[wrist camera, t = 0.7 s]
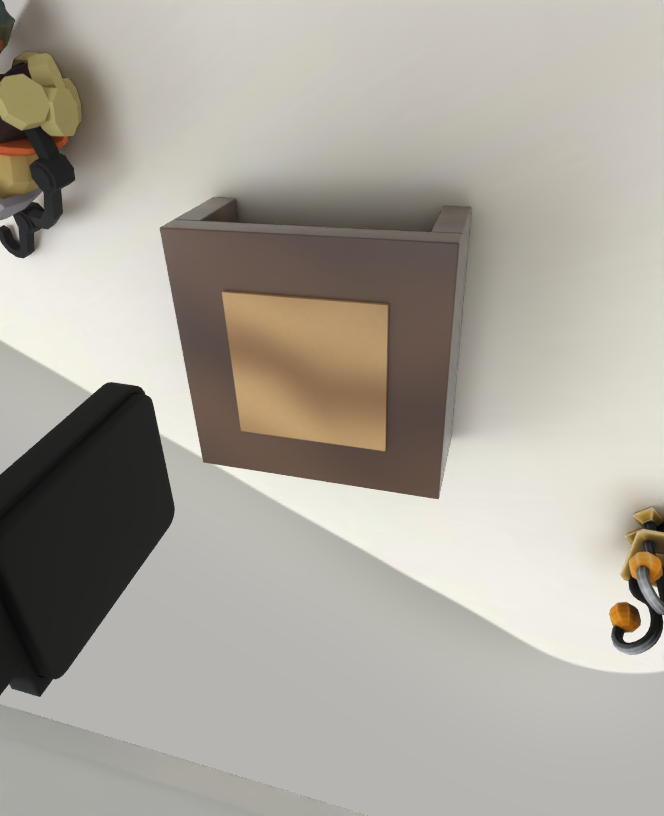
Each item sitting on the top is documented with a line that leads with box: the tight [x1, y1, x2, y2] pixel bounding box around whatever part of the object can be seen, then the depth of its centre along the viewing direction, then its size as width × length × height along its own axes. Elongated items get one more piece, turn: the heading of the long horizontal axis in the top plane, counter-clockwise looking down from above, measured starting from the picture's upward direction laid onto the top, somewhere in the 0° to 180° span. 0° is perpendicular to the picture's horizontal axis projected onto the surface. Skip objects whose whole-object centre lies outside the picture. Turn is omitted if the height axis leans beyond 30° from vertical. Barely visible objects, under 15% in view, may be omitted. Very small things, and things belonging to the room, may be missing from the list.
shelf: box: [160, 198, 472, 499], centre depth 28 cm, size 12×12×5 cm
